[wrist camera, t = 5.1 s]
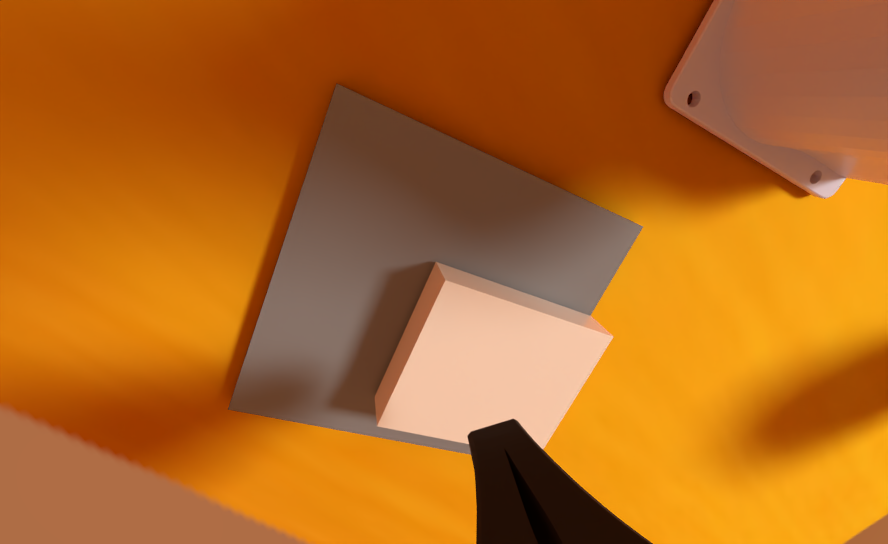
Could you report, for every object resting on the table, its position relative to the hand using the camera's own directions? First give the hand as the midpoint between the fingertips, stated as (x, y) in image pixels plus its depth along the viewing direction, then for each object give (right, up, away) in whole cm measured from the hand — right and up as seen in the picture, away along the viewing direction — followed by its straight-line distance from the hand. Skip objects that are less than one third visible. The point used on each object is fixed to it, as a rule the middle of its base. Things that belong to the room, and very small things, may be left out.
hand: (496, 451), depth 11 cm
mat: (-2, +3, +5) cm, 6 cm away
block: (-3, +2, +3) cm, 5 cm away
